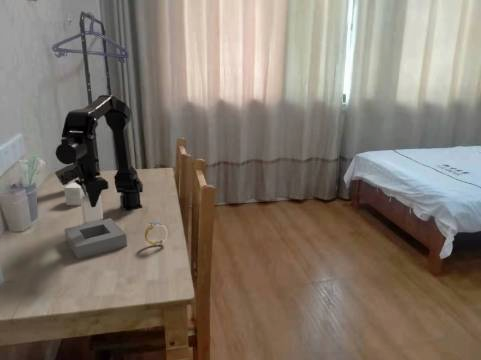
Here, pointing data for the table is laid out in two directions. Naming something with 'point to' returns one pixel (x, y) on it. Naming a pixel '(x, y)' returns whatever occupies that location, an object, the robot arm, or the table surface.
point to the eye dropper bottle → (91, 210)
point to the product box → (73, 194)
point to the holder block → (95, 238)
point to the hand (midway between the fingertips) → (91, 205)
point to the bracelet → (152, 228)
